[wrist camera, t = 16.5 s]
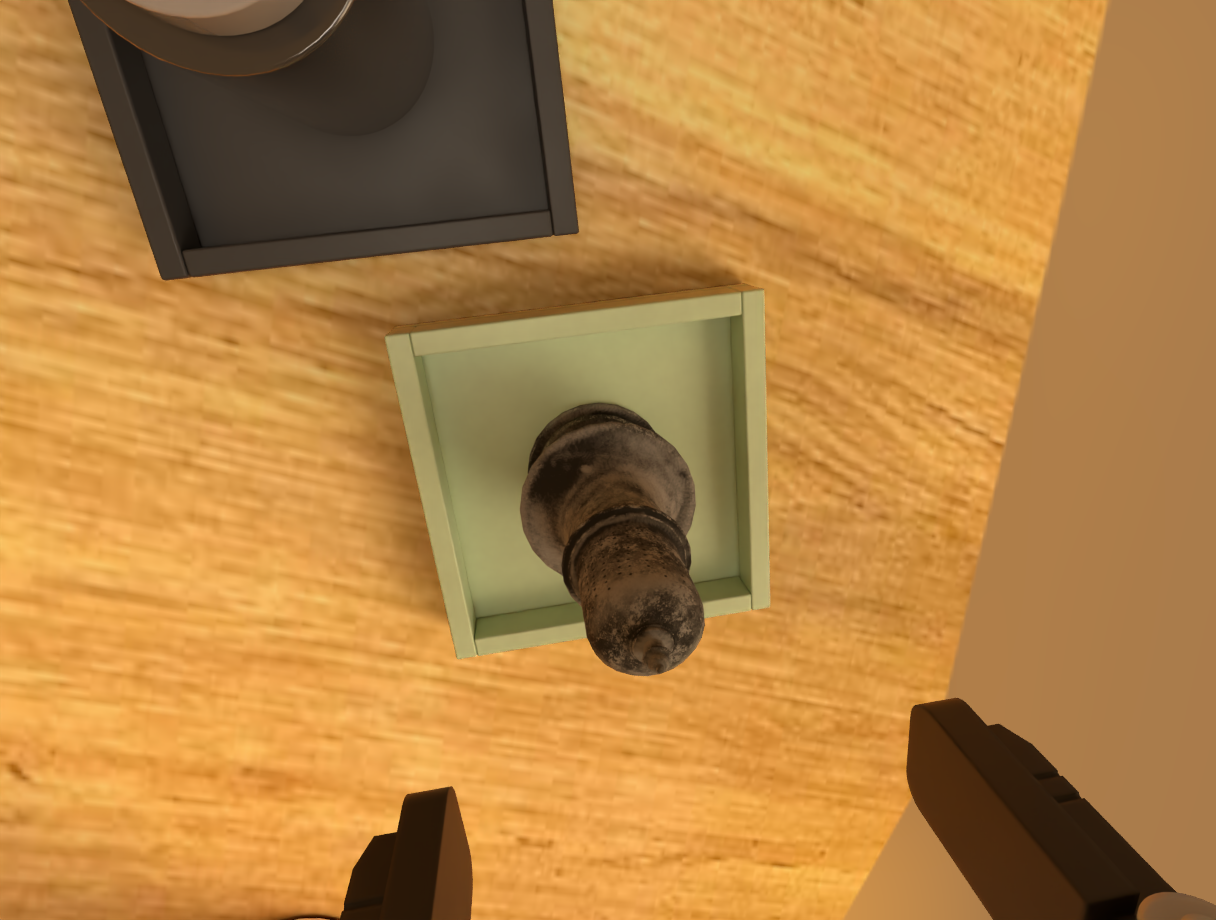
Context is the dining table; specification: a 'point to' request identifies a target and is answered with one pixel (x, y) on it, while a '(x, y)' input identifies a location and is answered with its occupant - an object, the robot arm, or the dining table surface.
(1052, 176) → the dining table surface
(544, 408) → the light tray
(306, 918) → the cup
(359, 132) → the brown jar with lid
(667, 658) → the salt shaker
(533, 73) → the dark tray
